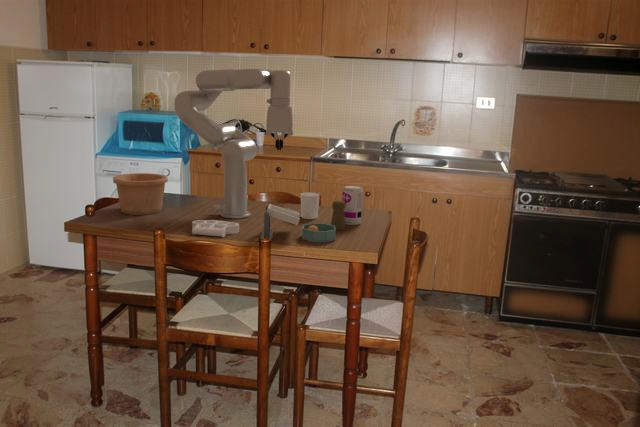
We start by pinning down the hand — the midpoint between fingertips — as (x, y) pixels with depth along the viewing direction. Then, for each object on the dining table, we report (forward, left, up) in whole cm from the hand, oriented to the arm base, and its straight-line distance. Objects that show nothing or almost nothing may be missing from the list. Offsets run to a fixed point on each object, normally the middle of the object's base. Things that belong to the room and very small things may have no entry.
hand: (279, 149), depth 233 cm
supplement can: (+30, 0, -29) cm, 42 cm away
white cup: (+13, +8, -29) cm, 33 cm away
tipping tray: (+2, -19, -22) cm, 29 cm away
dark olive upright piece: (+24, -9, -29) cm, 39 cm away
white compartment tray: (-23, -19, -30) cm, 42 cm away
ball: (+14, -24, -26) cm, 38 cm away
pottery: (-58, +12, -29) cm, 66 cm away
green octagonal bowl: (+16, -24, -29) cm, 41 cm away
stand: (-3, -24, -29) cm, 38 cm away
